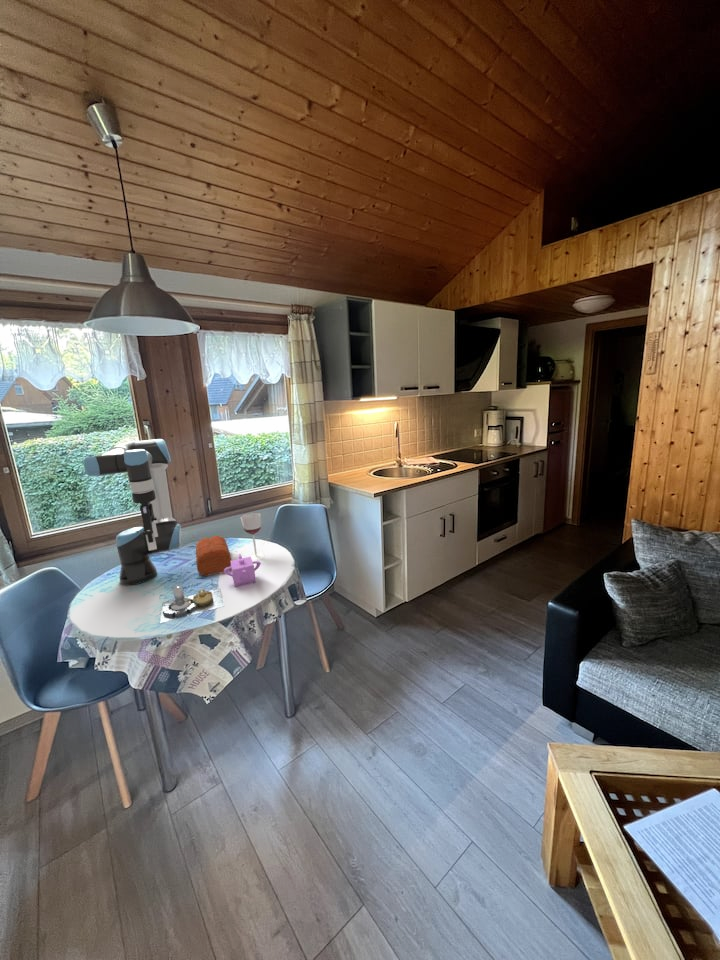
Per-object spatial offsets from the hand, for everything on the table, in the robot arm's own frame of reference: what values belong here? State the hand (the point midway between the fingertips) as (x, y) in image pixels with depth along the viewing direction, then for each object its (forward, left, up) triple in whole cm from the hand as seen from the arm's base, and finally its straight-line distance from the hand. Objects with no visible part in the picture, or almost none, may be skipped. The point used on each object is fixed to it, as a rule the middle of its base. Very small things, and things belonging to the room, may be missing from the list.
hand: (153, 543), depth 150 cm
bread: (-31, +20, -26) cm, 45 cm away
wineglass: (-26, +40, -26) cm, 54 cm away
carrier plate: (+10, +10, -26) cm, 30 cm away
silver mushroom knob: (+10, +6, -24) cm, 27 cm away
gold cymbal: (+10, +14, -24) cm, 30 cm away
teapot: (-1, +31, -26) cm, 41 cm away
